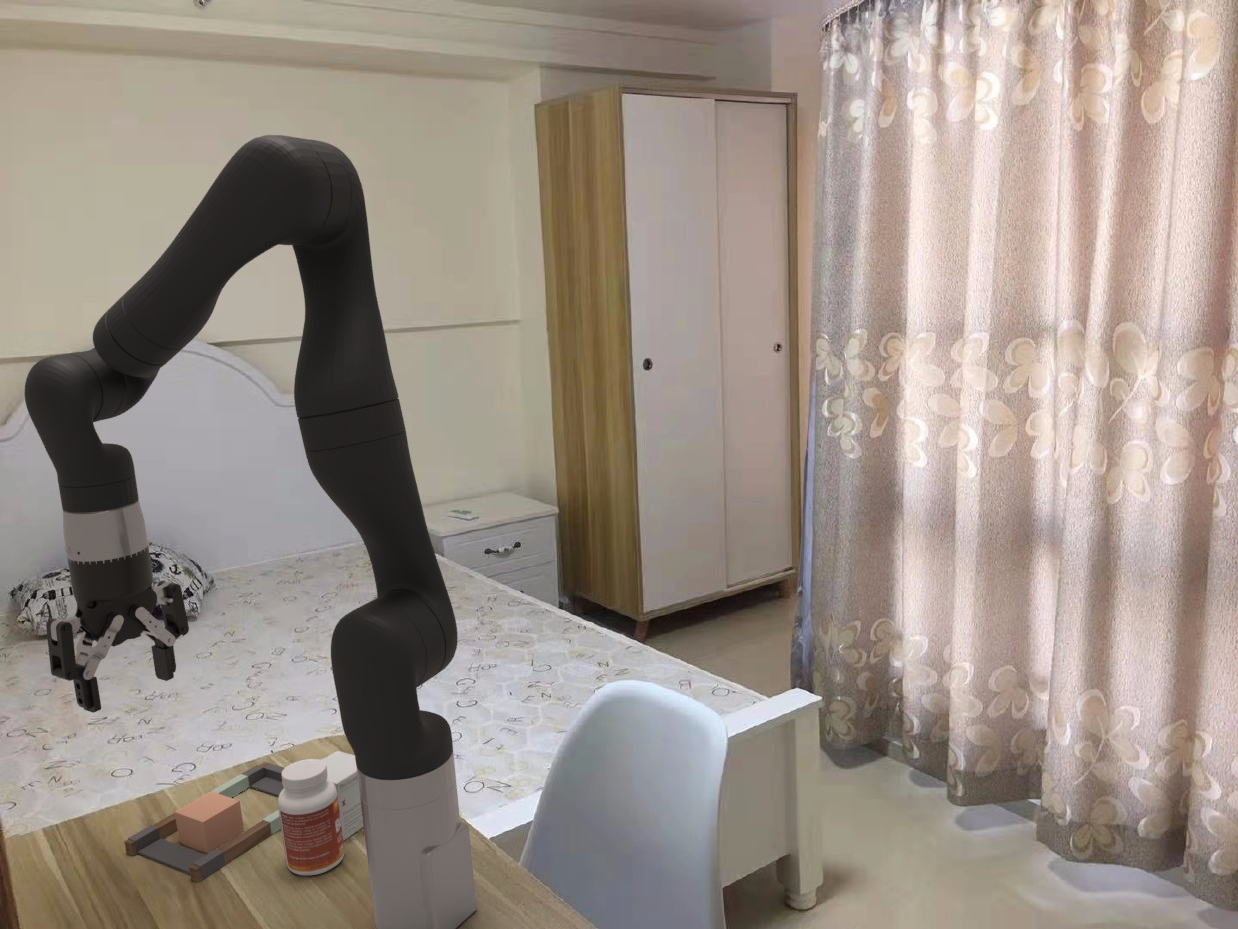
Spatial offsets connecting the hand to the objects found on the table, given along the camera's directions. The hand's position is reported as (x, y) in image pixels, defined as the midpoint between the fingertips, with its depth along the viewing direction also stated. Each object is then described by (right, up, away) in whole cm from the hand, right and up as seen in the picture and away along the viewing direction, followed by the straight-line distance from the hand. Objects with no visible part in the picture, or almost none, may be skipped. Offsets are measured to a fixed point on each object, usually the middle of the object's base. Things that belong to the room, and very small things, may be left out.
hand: (130, 693), depth 111 cm
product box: (+19, -18, +12) cm, 29 cm away
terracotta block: (+5, -19, +10) cm, 22 cm away
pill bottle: (+19, -19, +4) cm, 27 cm away
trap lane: (+6, -18, +13) cm, 23 cm away
